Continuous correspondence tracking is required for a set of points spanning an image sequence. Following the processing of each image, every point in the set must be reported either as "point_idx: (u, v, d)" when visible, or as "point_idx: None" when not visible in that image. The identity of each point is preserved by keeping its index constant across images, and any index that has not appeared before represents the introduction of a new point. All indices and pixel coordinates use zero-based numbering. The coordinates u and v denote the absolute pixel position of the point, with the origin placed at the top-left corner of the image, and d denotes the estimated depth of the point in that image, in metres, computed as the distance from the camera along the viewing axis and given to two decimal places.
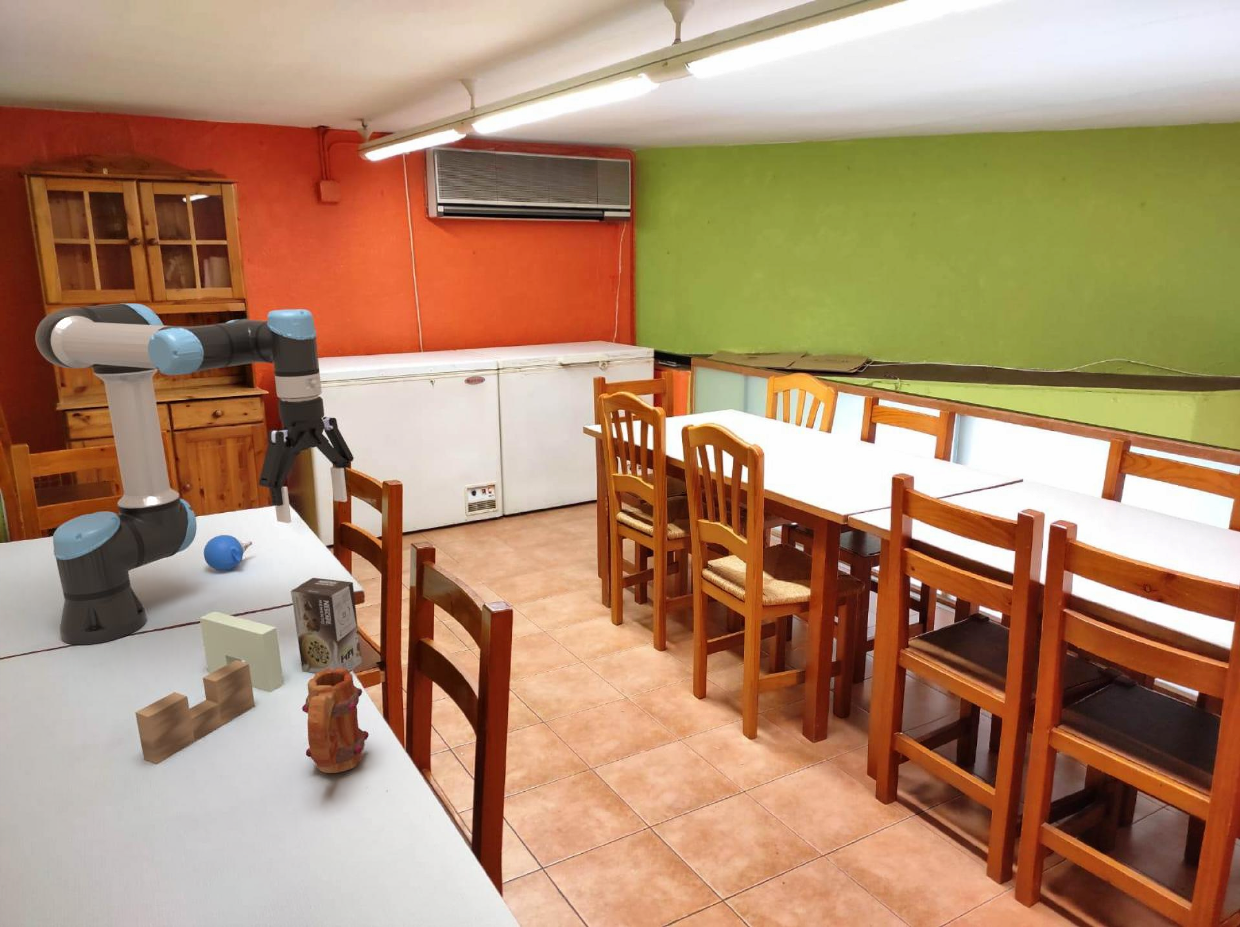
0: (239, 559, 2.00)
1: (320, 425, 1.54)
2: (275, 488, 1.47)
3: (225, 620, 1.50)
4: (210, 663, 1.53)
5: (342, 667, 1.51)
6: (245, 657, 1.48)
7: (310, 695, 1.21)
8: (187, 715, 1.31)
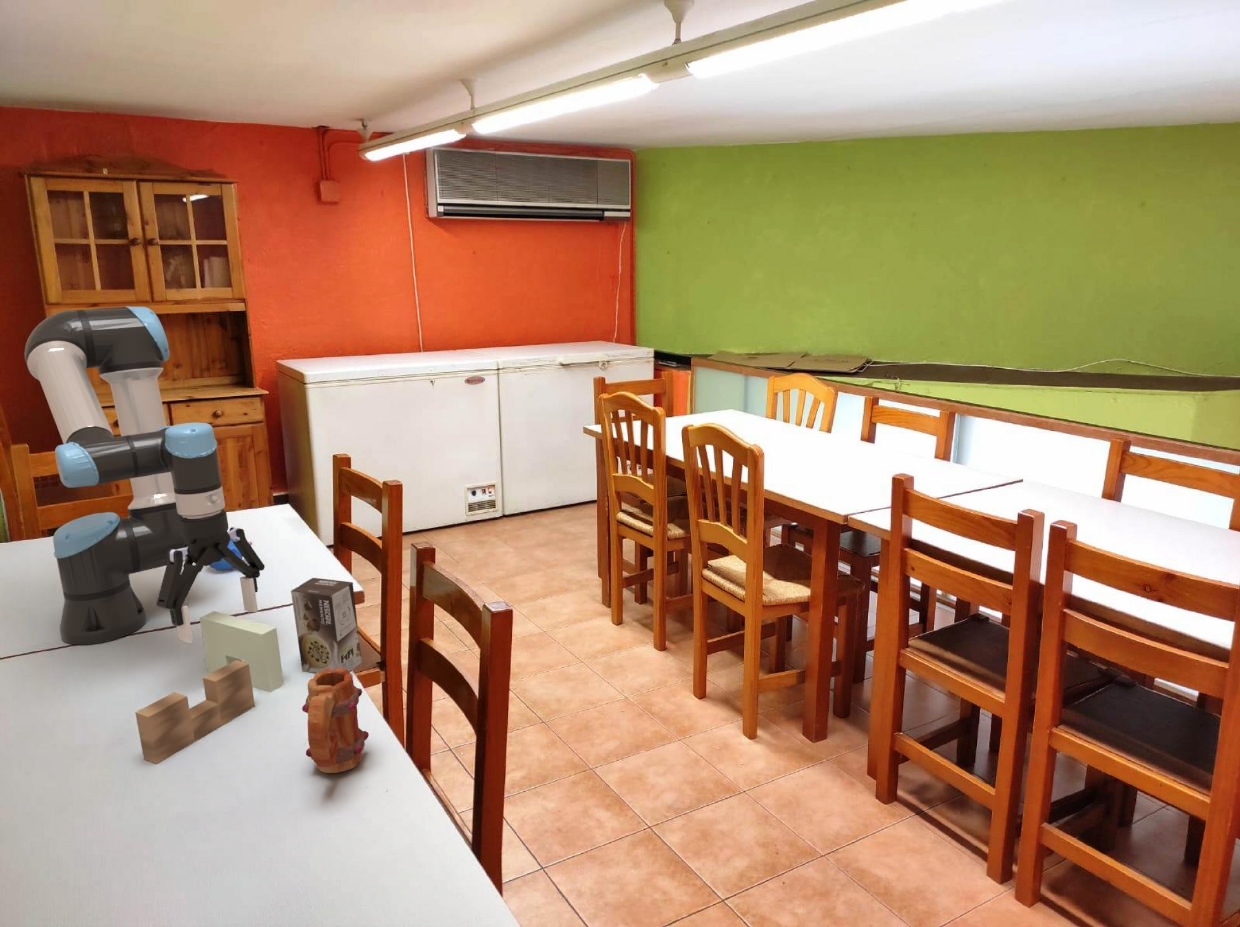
0: None
1: (225, 538, 1.50)
2: (174, 608, 1.42)
3: (225, 620, 1.50)
4: (210, 663, 1.53)
5: (342, 667, 1.51)
6: (245, 657, 1.48)
7: (310, 695, 1.21)
8: (187, 715, 1.31)
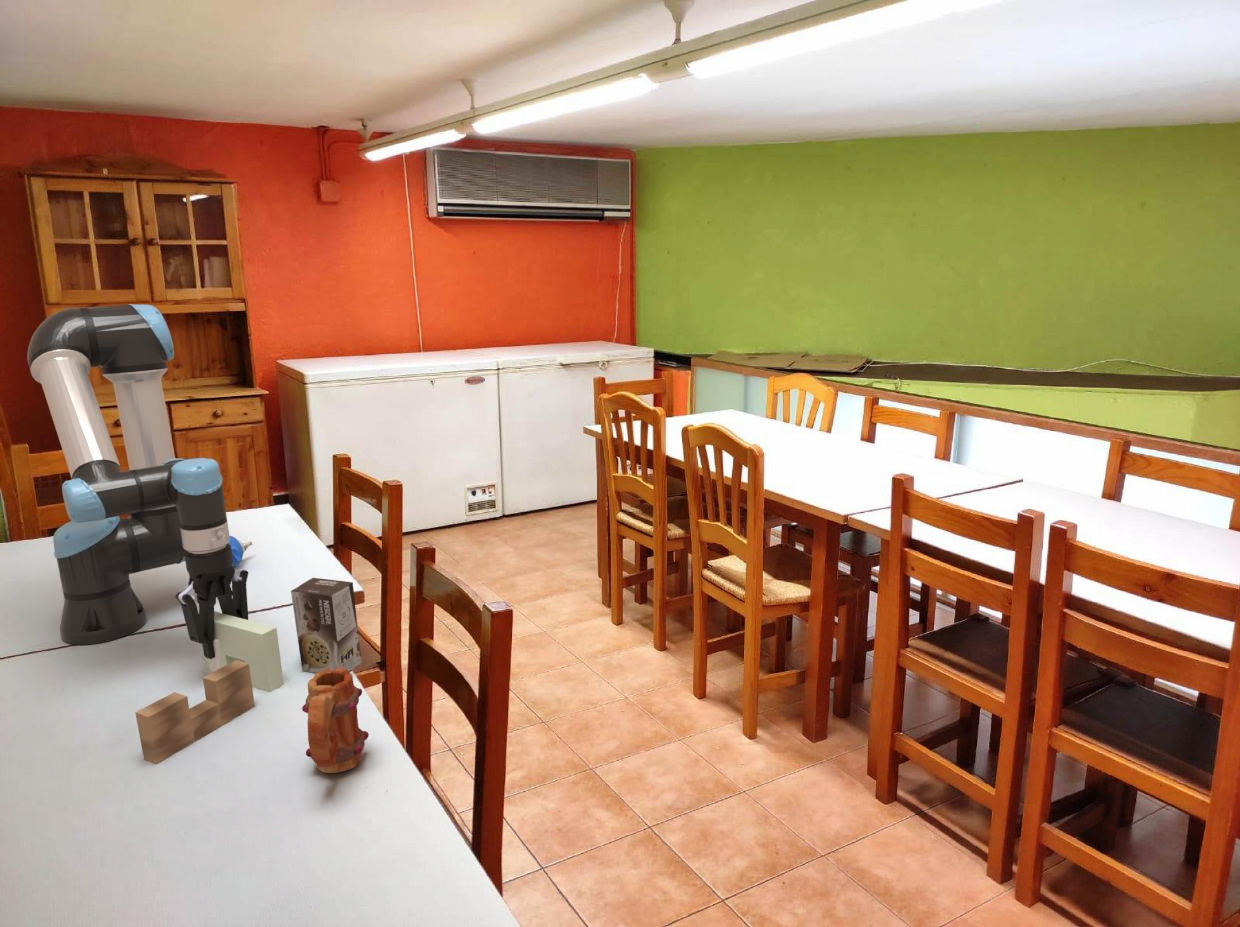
0: (239, 559, 2.00)
1: (230, 571, 1.51)
2: (208, 643, 1.49)
3: (225, 620, 1.50)
4: None
5: (342, 667, 1.51)
6: (245, 657, 1.48)
7: (310, 695, 1.21)
8: (187, 715, 1.31)
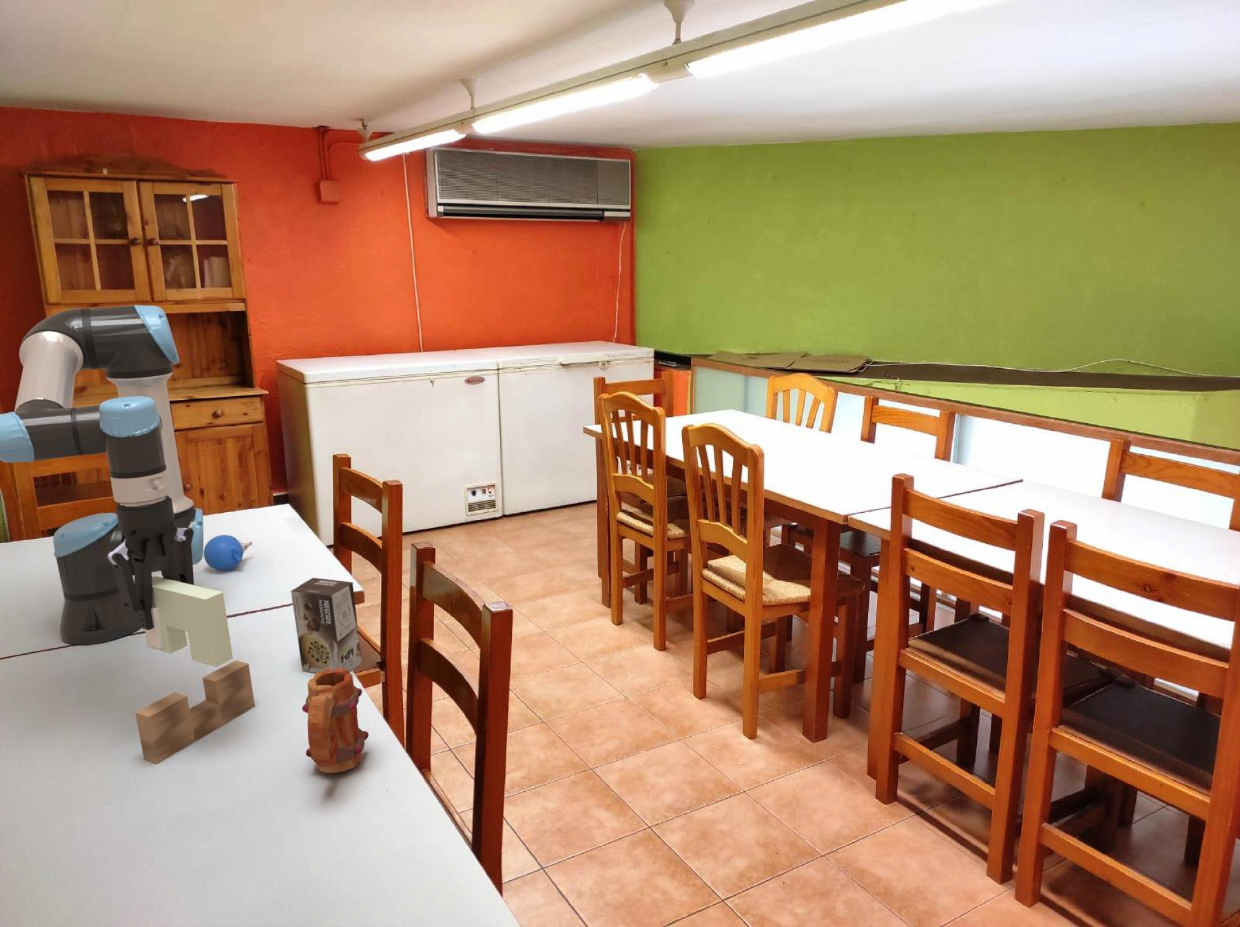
0: (239, 559, 2.00)
1: (171, 529, 1.31)
2: (145, 611, 1.29)
3: (165, 584, 1.30)
4: None
5: (342, 667, 1.51)
6: (187, 627, 1.28)
7: (310, 695, 1.21)
8: (187, 715, 1.31)
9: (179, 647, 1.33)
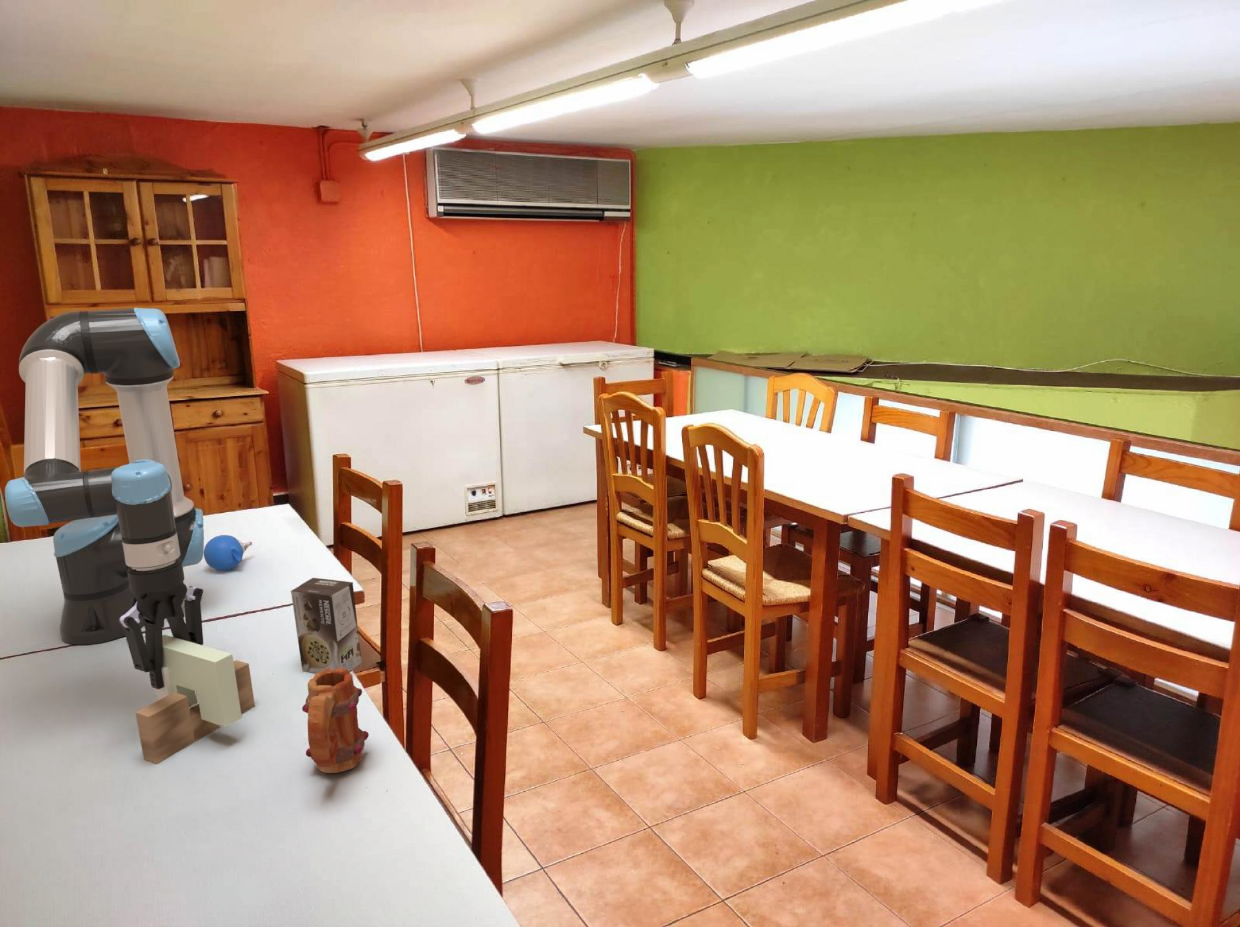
0: (239, 559, 2.00)
1: (181, 589, 1.34)
2: (156, 671, 1.32)
3: (175, 645, 1.33)
4: None
5: (342, 667, 1.51)
6: (197, 688, 1.31)
7: (310, 695, 1.21)
8: (187, 715, 1.31)
9: (189, 705, 1.36)
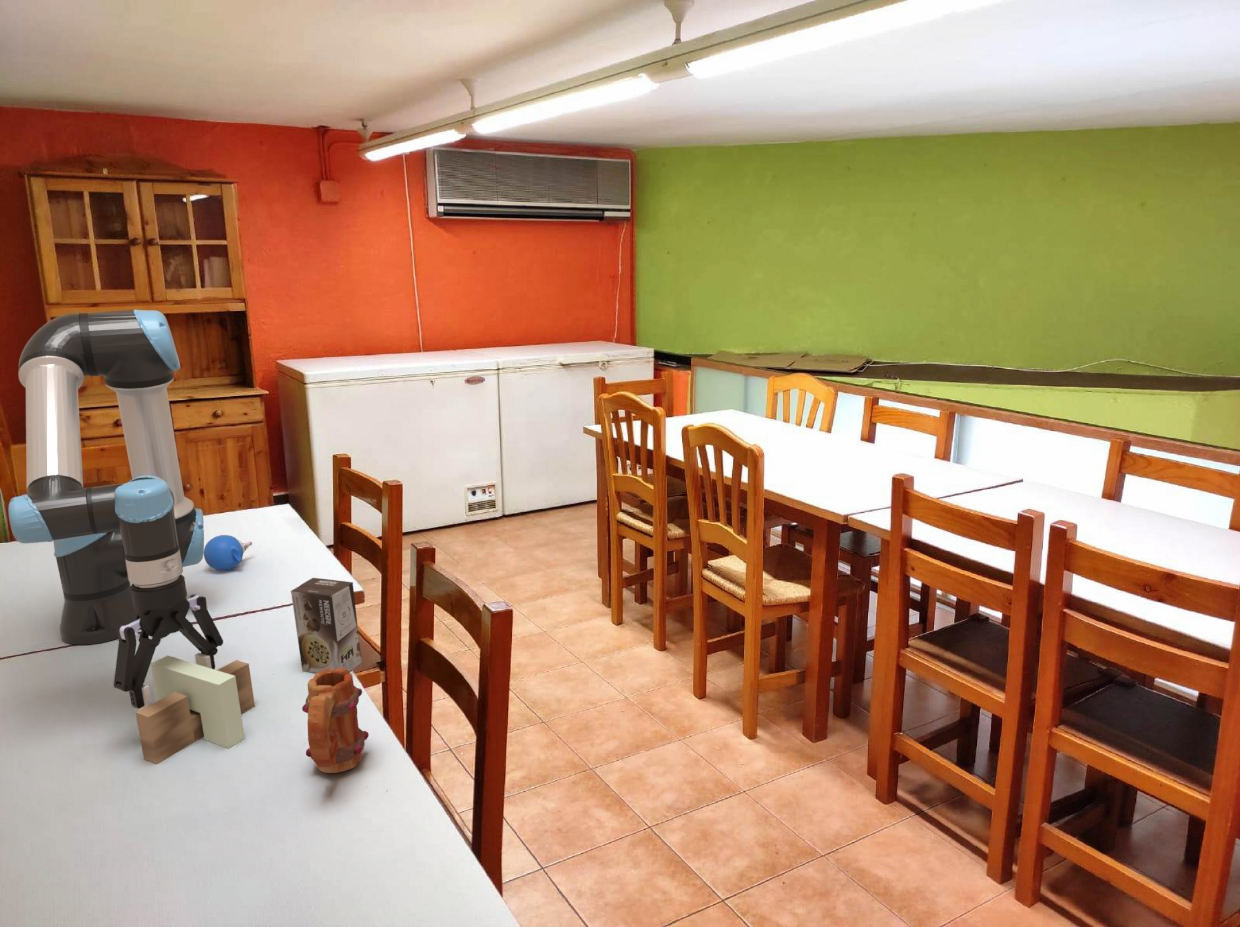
0: (239, 559, 2.00)
1: (184, 606, 1.35)
2: (134, 690, 1.29)
3: (179, 666, 1.34)
4: None
5: (342, 667, 1.51)
6: (200, 709, 1.32)
7: (310, 695, 1.21)
8: (187, 715, 1.31)
9: None
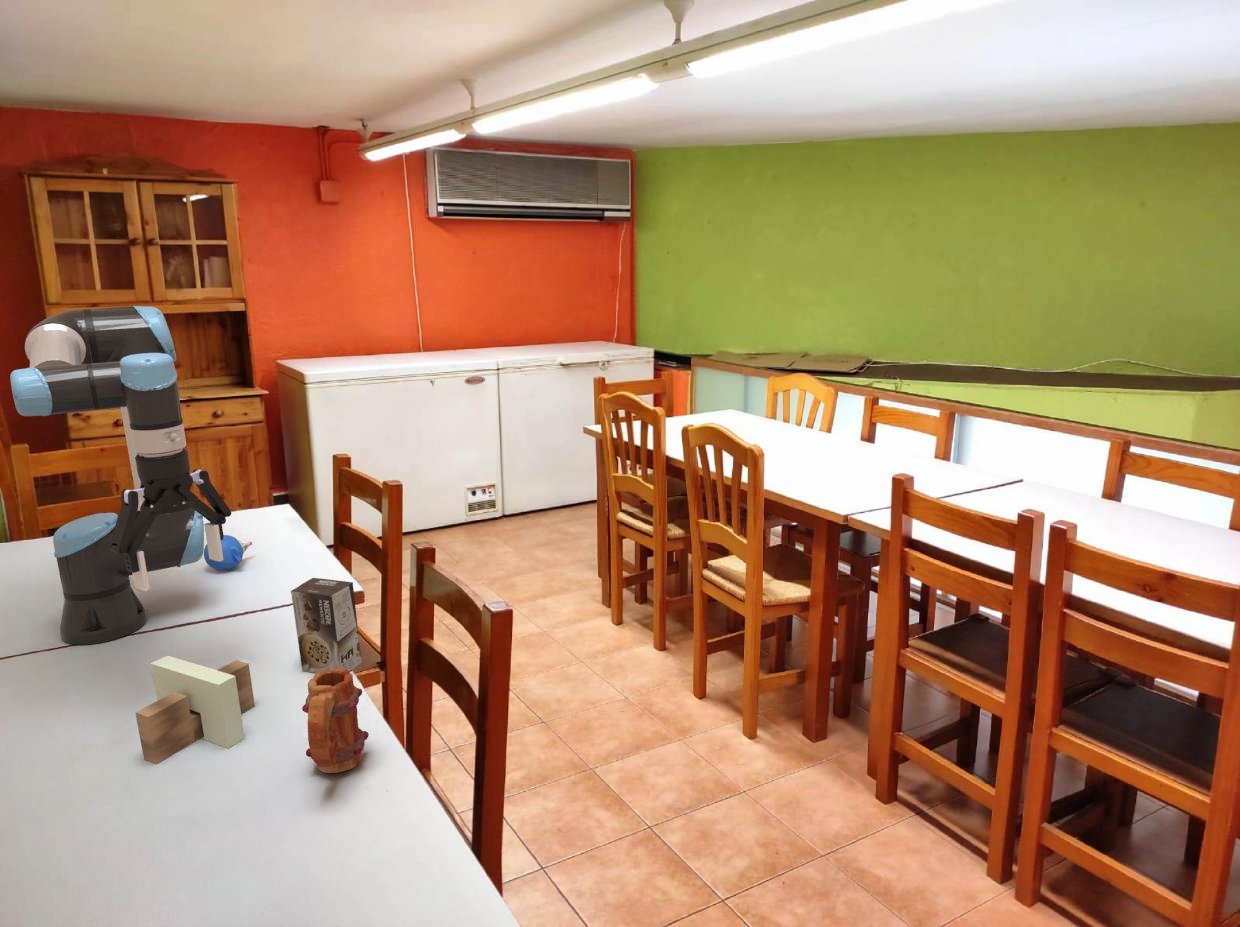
0: (239, 559, 2.00)
1: (187, 480, 1.39)
2: (128, 554, 1.32)
3: (179, 666, 1.34)
4: None
5: (342, 667, 1.51)
6: (200, 709, 1.32)
7: (310, 695, 1.21)
8: (187, 715, 1.31)
9: None
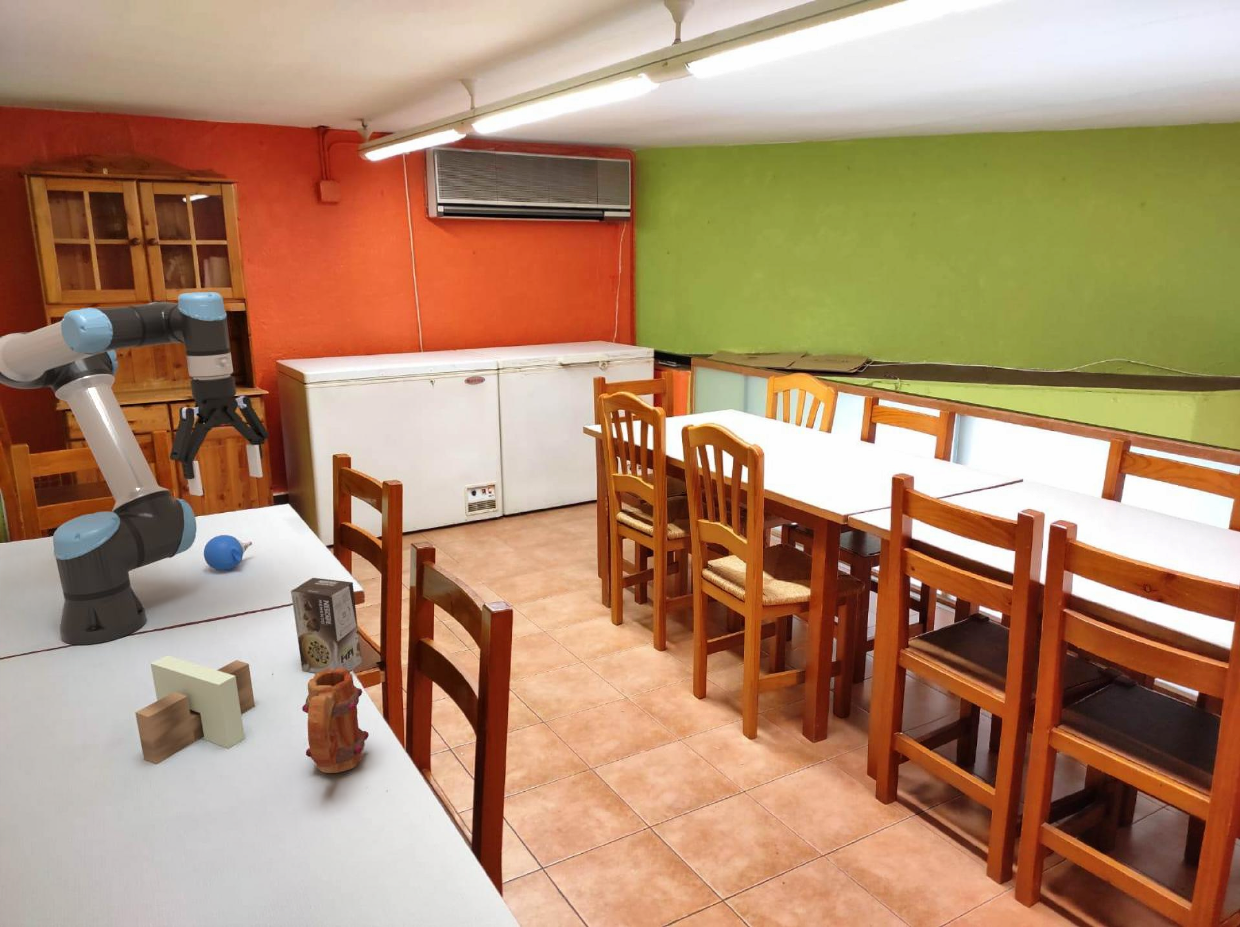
0: (239, 559, 2.00)
1: (233, 403, 1.61)
2: (186, 462, 1.54)
3: (179, 666, 1.34)
4: None
5: (342, 667, 1.51)
6: (200, 709, 1.32)
7: (310, 695, 1.21)
8: (187, 715, 1.31)
9: None
